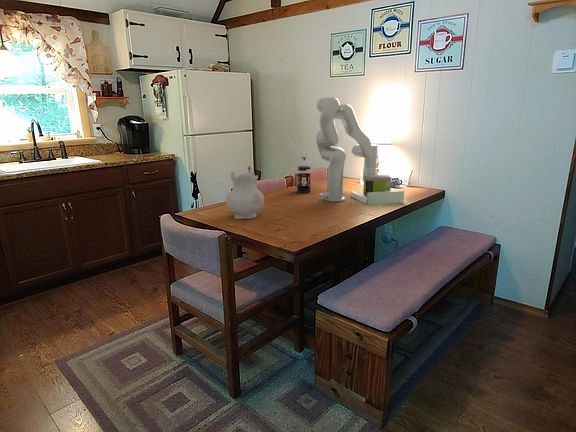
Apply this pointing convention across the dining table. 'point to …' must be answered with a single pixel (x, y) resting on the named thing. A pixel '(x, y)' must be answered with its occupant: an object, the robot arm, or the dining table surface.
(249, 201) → the ceramic pitcher
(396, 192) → the bay
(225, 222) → the dining table surface
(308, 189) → the french press
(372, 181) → the tea box
